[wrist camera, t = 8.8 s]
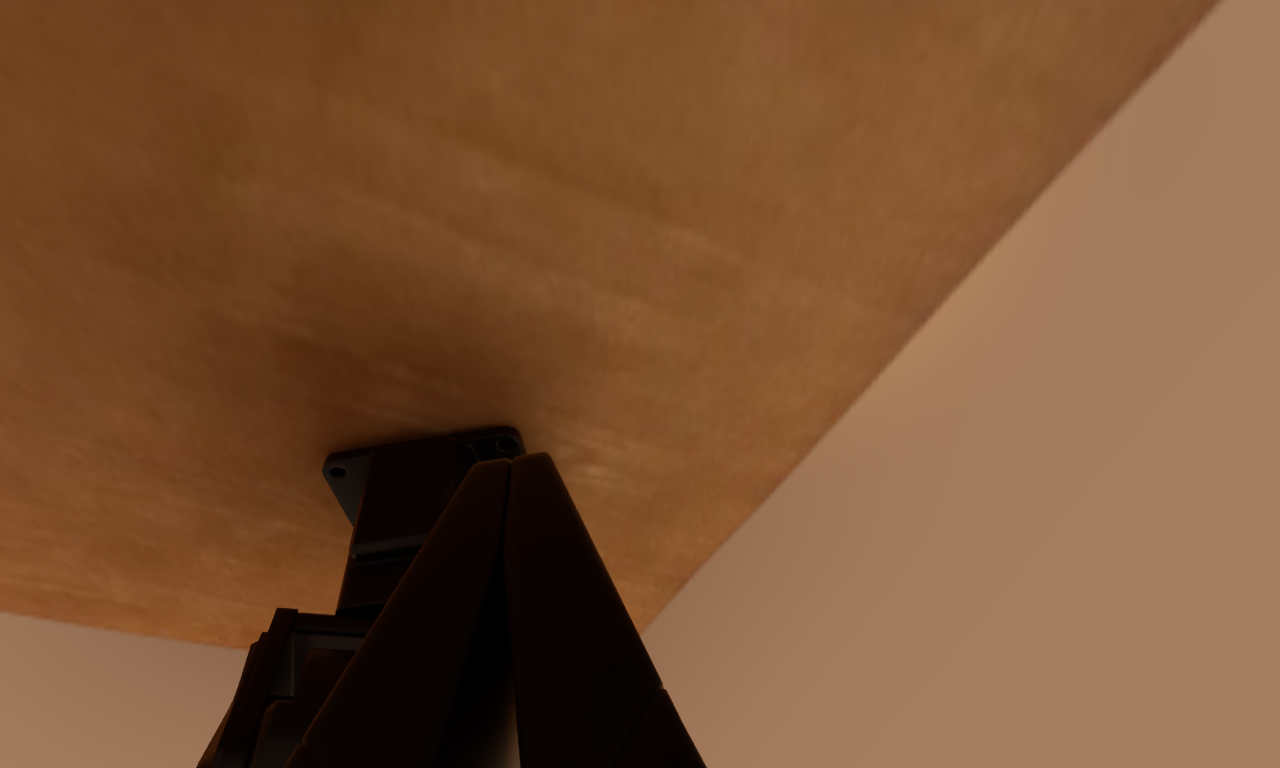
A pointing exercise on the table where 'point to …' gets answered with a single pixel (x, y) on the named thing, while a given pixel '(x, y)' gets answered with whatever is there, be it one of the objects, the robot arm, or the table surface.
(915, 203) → the table surface
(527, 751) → the robot arm
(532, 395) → the table surface
